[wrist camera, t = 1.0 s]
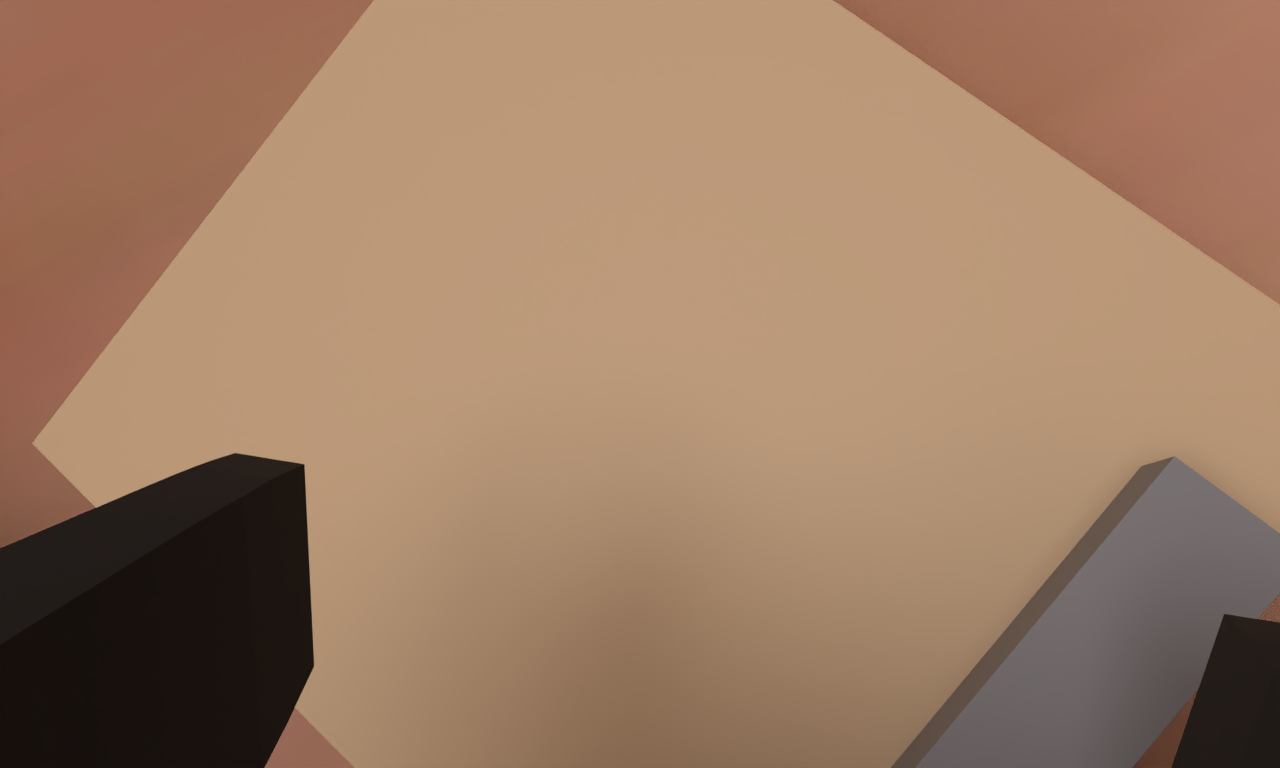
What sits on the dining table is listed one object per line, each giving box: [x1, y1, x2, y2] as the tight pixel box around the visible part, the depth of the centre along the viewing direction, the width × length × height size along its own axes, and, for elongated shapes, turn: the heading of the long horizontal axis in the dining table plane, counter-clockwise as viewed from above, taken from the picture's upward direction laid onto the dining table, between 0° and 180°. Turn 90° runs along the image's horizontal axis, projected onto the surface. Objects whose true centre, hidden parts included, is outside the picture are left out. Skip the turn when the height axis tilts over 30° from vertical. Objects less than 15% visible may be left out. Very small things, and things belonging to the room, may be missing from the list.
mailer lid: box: [32, 0, 1280, 768], centre depth 15 cm, size 14×12×3 cm
